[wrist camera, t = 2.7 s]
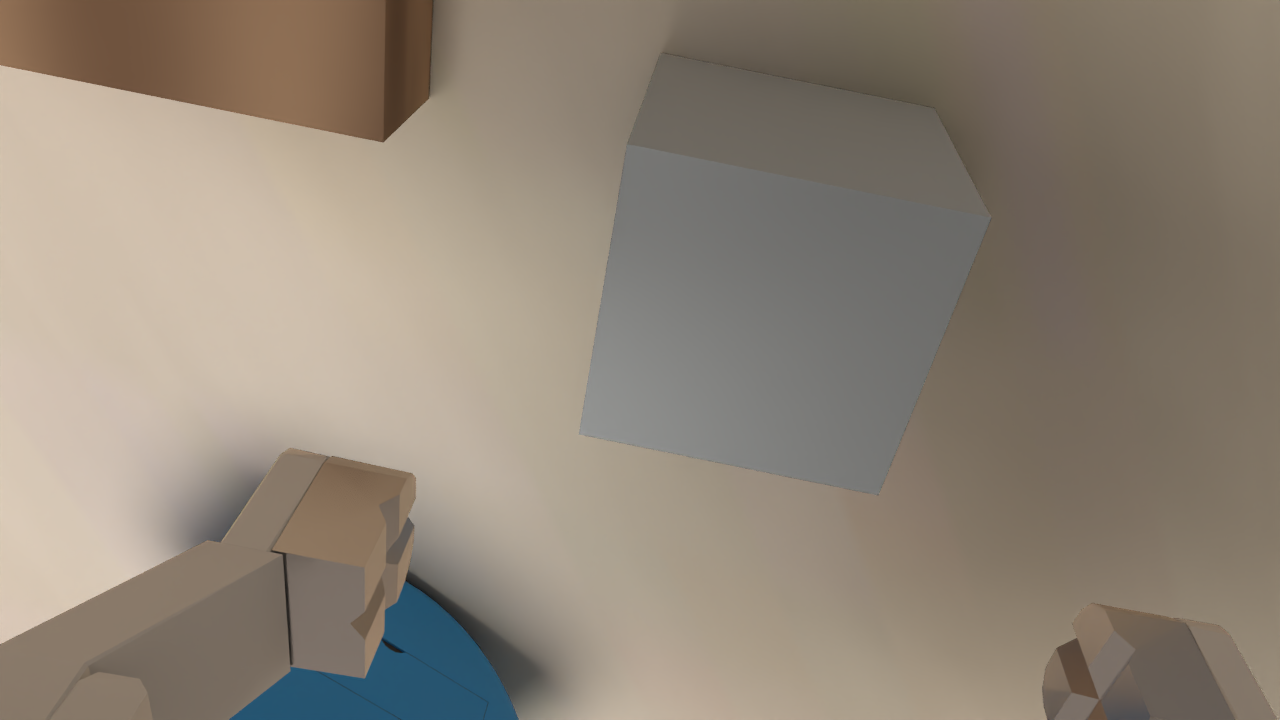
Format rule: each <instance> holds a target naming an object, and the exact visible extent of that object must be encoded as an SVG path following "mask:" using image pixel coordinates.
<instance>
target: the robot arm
mask: <svg viewBox="0 0 1280 720" xmlns="http://www.w3.org/2000/svg"><path fill="white" fill-rule="evenodd" d="M415 499H416V477H415V476H414V475H413V474H412V473H409V472H404V471H399V470H395V469H390V468H385V467H381V466H376V465H371V464H367V463H362V462H357V461H353V460H348V459H344V458H339V457H334V456H331V457H329V456H325V455H320V454H316V453H311V452H307V451H302V450H298V449H293V448H289V449H288V450H286V451H285V452H283V453H282V454H281V455H279V457H278V458H277V460H276V461H275V463H274V464H273V465H272V467H271V468H270V470H269V471H268V473H267V474H266V476H265V477H264V479H263V480H262V482H261V483H260V485H259V486H258V488H257V489H256V491H255V492H254V494H253V495H252V497H251V498H250V500H249V501H248V503H247V504H246V505H245V507H244V508H243V510H242V511H241V513H240V514H239V516H238V517H237V519H236V520H235V522H234V523H233V525H232V526H231V528H230V529H229V531H228V532H227V534H226V535H225V537H224V538H223V540H222V541H221V542H215V541H209V540H207V541H205V542H203V543H201V544H199V545H197V546H195V547H193V548H191V549H189V550H187V551H185V552H183V553H181V554H179V555H177V556H175V557H173V558H171V559H169V560H167V561H165V562H163V563H161V564H159V565H157V566H155V567H153V568H151V569H149V570H148V571H146V572H144V573H142V574H140V575H138V576H136V577H134V578H132V579H130V580H128V581H126V582H124V583H122V584H120V585H118V586H116V587H114V588H112V589H110V590H108V591H106V592H104V593H102V594H100V595H98V596H96V597H94V598H92V599H90V600H88V601H86V602H84V603H82V604H80V605H78V606H76V607H74V608H72V609H70V610H68V611H66V612H64V613H62V614H60V615H58V616H56V617H54V618H52V619H50V620H48V621H46V622H44V623H42V624H40V625H38V626H36V627H34V628H32V629H30V630H28V631H26V632H24V633H22V634H20V635H18V636H16V637H14V638H12V639H10V640H8V641H6V642H4V643H2V644H0V720H229V719H230V718H231V717H233V716H234V715H235V714H237V713H238V712H239V711H240V710H242V709H243V708H244V707H245V706H247V705H248V704H249V703H251V702H252V701H253V700H254V699H256V698H257V697H258V696H260V695H261V694H262V693H263V692H265V691H266V690H267V689H268V688H270V687H271V686H272V685H274V684H275V683H276V682H277V681H279V680H280V679H281V678H282V677H284V676H285V675H286V674H288V673H289V672H290V667H296V668H302V669H308V670H315V671H321V672H327V673H333V674H339V675H346V676H352V677H358V678H364V679H365V677H366V674H367V672H368V670H369V667H370V665H371V663H372V660H373V658H374V655H375V653H376V651H377V648H378V646H379V644H380V641H381V639H382V636H383V634H384V626H385V609H387V608H389V607H390V606H392V605H393V604H395V603H396V602H397V600H398V598H399V595H400V593H401V590H402V588H403V585H404V582H405V579H406V575H407V571H408V568H409V564H410V561H411V555H412V549H413V542H414V525H413V523H412V522H411V521H410V519H409V518H408V515H409V513H410V510H411V508H412V506H413V503H414V501H415ZM1072 625H1073V628H1074V631H1075V634H1076V637H1077V638H1076V639H1074V640H1072V641H1070V642H1068V643H1066V644H1064V645H1062V646H1060V647H1058V648H1056V650H1055V652H1054V653H1053V655H1052V657H1051V659H1050V661H1049V662H1048V664H1047V666H1046V669H1045V675H1044V681H1043V687H1042V692H1043V703H1044V709H1045V713H1046V716H1047V720H1277V718H1276V716H1275V714H1274V713H1273V711H1272V709H1271V707H1270V705H1269V704H1268V702H1267V700H1266V698H1265V696H1264V695H1263V693H1262V691H1261V689H1260V687H1259V686H1258V684H1257V682H1256V680H1255V678H1254V677H1253V675H1252V673H1251V671H1250V670H1249V668H1248V666H1247V664H1246V662H1245V661H1244V659H1243V657H1242V655H1241V653H1240V652H1239V650H1238V648H1237V646H1236V644H1235V643H1234V641H1233V639H1232V637H1231V636H1230V634H1229V633H1228V632H1226V631H1225V630H1224V629H1223V628H1222V627H1220V626H1219V625H1214V624H1209V623H1203V622H1197V621H1192V620H1186V619H1180V618H1171V617H1167V616H1161V615H1156V614H1150V613H1145V612H1139V611H1134V610H1128V609H1123V608H1117V607H1112V606H1106V605H1101V604H1095V603H1091V604H1089V605H1088V606H1086V607H1085V608H1083V609H1081V611H1080V612H1079V614H1078V615H1077V617H1076V618H1075V620H1074V621H1073V623H1072Z"/></svg>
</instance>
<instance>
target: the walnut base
mask: <svg viewBox="0 0 1280 720" xmlns="http://www.w3.org/2000/svg"><path fill="white" fill-rule="evenodd" d="M432 11H433V0H0V65H3V66H7V67H12V68H17V69H22V70H27V71H32V72H37V73H42V74H47V75H52V76H57V77H62V78H67V79H72V80H77V81H82V82H87V83H92V84H97V85H102V86H107V87H112V88H116V89H121V90H126V91H131V92H136V93H141V94H146V95H151V96H156V97H161V98H166V99H171V100H176V101H181V102H186V103H191V104H196V105H201V106H206V107H211V108H216V109H221V110H226V111H230V112H235V113H240V114H245V115H250V116H255V117H260V118H265V119H270V120H275V121H280V122H285V123H290V124H295V125H300V126H305V127H310V128H315V129H320V130H325V131H330V132H335V133H339V134H344V135H349V136H354V137H359V138H364V139H369V140H374V141H379V142H384V141H385V140H386V139H387V138H388V137H389V136H390V135H391V134H392V133H394V132H395V131H396V130H397V129H398V128H399V127H400V126H401V125H402V124H403V123H404V122H405V121H406V120H407V119H408V118H409V117H410V116H411V115H412V114H413V113H414V112H415V111H416V110H417V109H418V108H419V107H420V106H421V105H422V104H424V103H425V102H426V101H427V100H428V99H429V81H430V57H431V34H432Z"/></svg>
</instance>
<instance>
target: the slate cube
mask: <svg viewBox="0 0 1280 720" xmlns="http://www.w3.org/2000/svg"><path fill="white" fill-rule="evenodd" d="M990 221H991V216H990V214H989V212H988V210H987V208H986V206H985V204H984V202H983V200H982V198H981V197H980V195H979V193H978V191H977V189H976V187H975V185H974V183H973V181H972V179H971V177H970V175H969V174H968V172H967V170H966V168H965V166H964V164H963V162H962V160H961V158H960V156H959V154H958V152H957V151H956V149H955V147H954V145H953V143H952V141H951V139H950V137H949V135H948V133H947V131H946V129H945V128H944V126H943V124H942V122H941V120H940V118H939V116H938V114H937V112H936V110H935V108H932V107H927V106H922V105H917V104H912V103H907V102H902V101H897V100H892V99H887V98H883V97H878V96H873V95H868V94H863V93H858V92H853V91H848V90H843V89H838V88H833V87H828V86H823V85H818V84H813V83H808V82H803V81H798V80H793V79H788V78H783V77H779V76H774V75H769V74H764V73H759V72H754V71H749V70H744V69H739V68H734V67H729V66H724V65H719V64H714V63H709V62H704V61H699V60H694V59H689V58H684V57H679V56H674V55H670V54H665V53H661V54H660V56H659V59H658V62H657V65H656V67H655V70H654V73H653V75H652V78H651V81H650V84H649V86H648V89H647V92H646V94H645V97H644V100H643V103H642V105H641V108H640V111H639V113H638V116H637V119H636V122H635V124H634V127H633V130H632V132H631V135H630V138H629V141H628V143H627V148H626V154H625V160H624V166H623V172H622V178H621V184H620V190H619V196H618V202H617V208H616V214H615V220H614V226H613V232H612V238H611V244H610V250H609V256H608V262H607V268H606V274H605V280H604V286H603V292H602V298H601V304H600V310H599V316H598V322H597V328H596V334H595V341H594V347H593V353H592V359H591V365H590V371H589V377H588V383H587V389H586V395H585V401H584V407H583V413H582V419H581V425H580V431H579V435H584V436H589V437H594V438H599V439H604V440H609V441H614V442H619V443H623V444H628V445H633V446H638V447H643V448H648V449H653V450H658V451H663V452H668V453H673V454H677V455H682V456H687V457H692V458H697V459H702V460H707V461H712V462H717V463H722V464H726V465H731V466H736V467H741V468H746V469H751V470H756V471H761V472H766V473H771V474H776V475H780V476H785V477H790V478H795V479H800V480H805V481H810V482H815V483H820V484H825V485H830V486H834V487H839V488H844V489H849V490H854V491H859V492H864V493H869V494H874V495H879V493H880V490H881V488H882V485H883V483H884V480H885V478H886V476H887V473H888V471H889V468H890V466H891V463H892V461H893V458H894V456H895V453H896V451H897V449H898V446H899V444H900V441H901V439H902V436H903V434H904V431H905V429H906V426H907V424H908V422H909V419H910V417H911V414H912V412H913V409H914V407H915V404H916V402H917V400H918V397H919V395H920V392H921V390H922V387H923V385H924V382H925V380H926V377H927V375H928V373H929V370H930V368H931V365H932V363H933V360H934V358H935V355H936V353H937V351H938V348H939V346H940V343H941V341H942V338H943V336H944V333H945V331H946V328H947V326H948V324H949V321H950V319H951V316H952V314H953V311H954V309H955V306H956V304H957V301H958V299H959V297H960V294H961V292H962V289H963V287H964V284H965V282H966V279H967V277H968V275H969V272H970V270H971V267H972V265H973V262H974V260H975V257H976V255H977V252H978V250H979V248H980V245H981V243H982V240H983V238H984V235H985V233H986V230H987V228H988V225H989V223H990Z"/></svg>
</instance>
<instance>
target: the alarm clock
mask: <svg viewBox="0 0 1280 720" xmlns="http://www.w3.org/2000/svg"><path fill="white" fill-rule="evenodd" d="M229 720H519V719H518V717H517V714H516V712H515V709H514V707H513V705H512V703H511V700H510V698H509V696H508V694H507V692H506V690H505V688H504V686H503V684H502V682H501V680H500V678H499V677H498V675H497V673H496V672H495V670H494V669H493V667H492V665H491V664H490V662H489V661H488V659H487V658H486V656H485V655H484V654H483V652H482V651H481V649H480V648H479V647H478V645H477V644H476V643H475V642H474V640H473V639H472V638H471V637H470V635H469V634H468V633H467V632H466V631H465V630H464V628H463V627H462V626H461V625H460V624H459V623H458V622H457V621H456V620H455V619H454V618H453V617H452V616H451V615H450V614H449V613H448V612H446V611H445V610H444V609H443V608H442V607H441V606H440V605H439V604H437V603H436V602H435V601H434V600H432V599H431V598H430V597H428V596H427V595H426V594H424V593H423V592H422V591H420V590H419V589H417V588H416V587H414V586H412V585H411V584H409V583H408V582H406V581H405V582H404V585H403V588H402V590H401V593H400V595H399V598H398V600H397V602H396V603H395V604H393V605H392V606H390V607H389V608H387V609H385V626H384V634H383V636H382V639H381V641H380V644H379V646H378V648H377V651H376V653H375V655H374V658H373V660H372V663H371V665H370V667H369V670H368V672H367V674H366V677H365V679H364V678H358V677H352V676H346V675H339V674H333V673H327V672H321V671H315V670H308V669H302V668H296V667H290V672H289V673H288V674H286V675H285V676H284V677H282V678H281V679H280V680H279V681H277V682H276V683H275V684H274V685H272V686H271V687H270V688H268V689H267V690H266V691H265V692H263V693H262V694H261V695H260V696H258V697H257V698H256V699H254V700H253V701H252V702H251V703H249V704H248V705H247V706H245V707H244V708H243V709H242V710H240V711H239V712H238V713H237V714H235V715H234V716H233V717H231V718H230V719H229Z"/></svg>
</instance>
